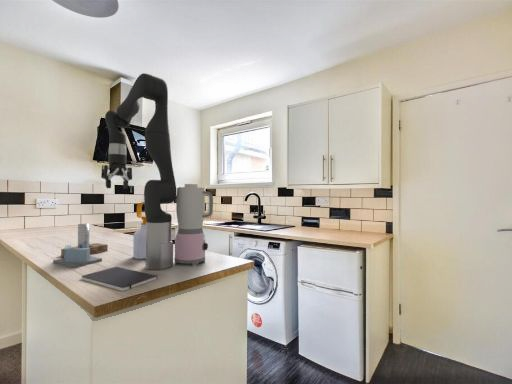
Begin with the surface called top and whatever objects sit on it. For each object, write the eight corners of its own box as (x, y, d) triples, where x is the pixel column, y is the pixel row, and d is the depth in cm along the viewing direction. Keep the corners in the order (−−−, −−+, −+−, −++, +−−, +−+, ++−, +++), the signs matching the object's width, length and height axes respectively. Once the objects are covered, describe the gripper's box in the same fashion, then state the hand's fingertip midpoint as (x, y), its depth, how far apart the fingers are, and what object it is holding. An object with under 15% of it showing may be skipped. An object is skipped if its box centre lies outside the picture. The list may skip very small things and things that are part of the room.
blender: (168, 265, 104) (169, 183, 104) (182, 257, 116) (183, 184, 116) (206, 268, 101) (207, 183, 101) (217, 260, 113) (218, 184, 113)
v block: (102, 261, 109) (102, 246, 109) (74, 267, 99) (74, 251, 99) (81, 256, 116) (81, 242, 116) (52, 262, 106) (52, 247, 106)
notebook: (157, 280, 88) (116, 270, 98) (157, 275, 88) (116, 266, 98) (123, 292, 77) (80, 280, 87) (123, 287, 77) (80, 276, 87)
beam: (97, 249, 131) (97, 242, 131) (107, 250, 127) (107, 244, 127) (61, 255, 117) (61, 249, 117) (71, 258, 113) (71, 251, 113)
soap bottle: (150, 259, 113) (151, 201, 113) (129, 259, 113) (130, 201, 113) (158, 254, 122) (159, 200, 122) (139, 254, 122) (139, 200, 122)
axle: (91, 257, 110) (91, 223, 110) (81, 259, 107) (81, 224, 107) (85, 256, 112) (85, 223, 112) (75, 258, 109) (75, 224, 109)
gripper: (108, 151, 118) (108, 188, 118) (136, 155, 131) (135, 188, 131) (97, 152, 121) (97, 188, 121) (125, 156, 134) (125, 188, 134)
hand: (117, 188), depth 126 cm, fingers open, 8 cm apart
